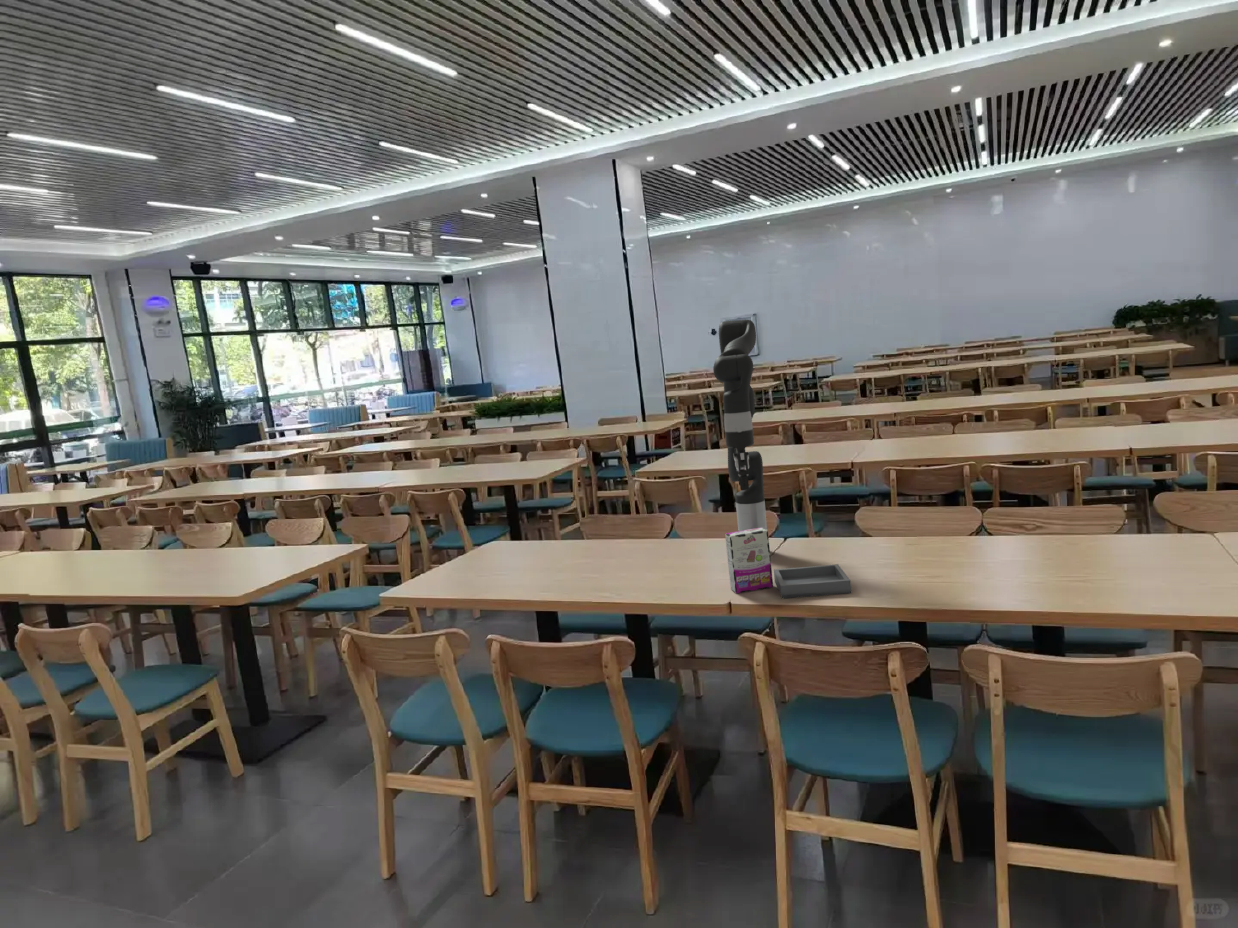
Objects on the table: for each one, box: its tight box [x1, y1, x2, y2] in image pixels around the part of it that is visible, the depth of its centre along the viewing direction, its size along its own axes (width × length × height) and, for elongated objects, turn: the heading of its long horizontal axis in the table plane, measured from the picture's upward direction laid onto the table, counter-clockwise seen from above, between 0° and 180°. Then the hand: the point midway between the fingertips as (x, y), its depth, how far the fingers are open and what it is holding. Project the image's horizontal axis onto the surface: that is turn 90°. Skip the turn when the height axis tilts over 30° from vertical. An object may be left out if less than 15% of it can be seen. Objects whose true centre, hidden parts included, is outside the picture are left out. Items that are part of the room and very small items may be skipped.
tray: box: [773, 563, 852, 599], centre depth 217 cm, size 16×18×4 cm
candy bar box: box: [724, 528, 774, 594], centre depth 221 cm, size 11×5×16 cm, turn 101°
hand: (743, 487), depth 219 cm, fingers open, 8 cm apart
